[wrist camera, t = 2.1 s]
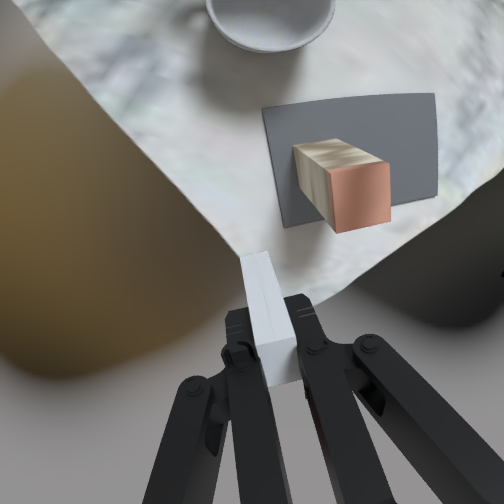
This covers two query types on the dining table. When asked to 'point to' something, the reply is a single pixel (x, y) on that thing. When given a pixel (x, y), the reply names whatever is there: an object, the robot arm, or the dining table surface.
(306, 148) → the block
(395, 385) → the robot arm
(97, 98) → the dining table surface
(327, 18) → the teacup
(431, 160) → the mat
